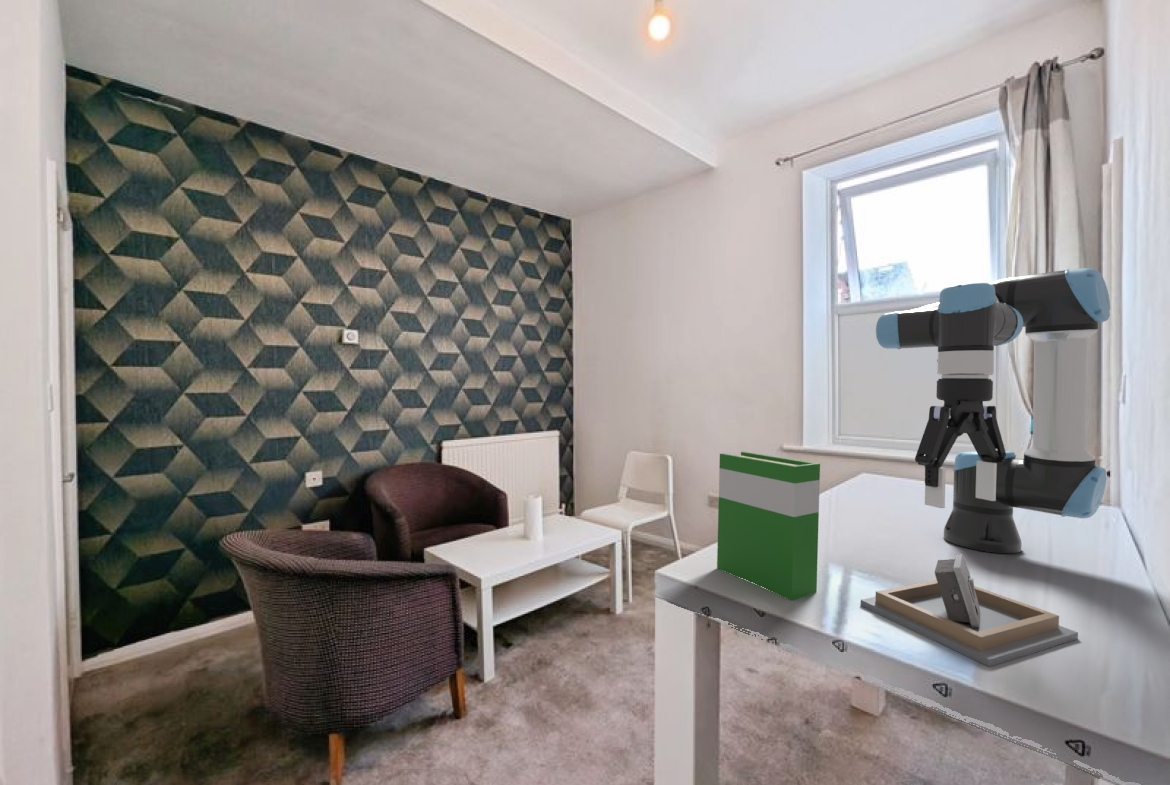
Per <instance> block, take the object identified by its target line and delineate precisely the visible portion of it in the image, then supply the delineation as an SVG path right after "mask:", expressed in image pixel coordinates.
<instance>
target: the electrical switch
mask: <svg viewBox="0 0 1170 785" xmlns="http://www.w3.org/2000/svg"><path fill="white" fill-rule="evenodd" d="M934 576H935V580H937V582H938V586H939V589H940V592H941V595H942V599H943V602H944V605H945V609H946V612H947V615H948V618H949V620H951V621H960V622H969V623H971V626H972V628H976V627H979V617H980V607H979V603H978V599H977V596H976V593H975V589H974V586H975V584H974V583H975V582H974V578H973V577H971V573H970V571H969V568H968V565H967V563H966V560H965V557H964V554H960V553H959V554H958V553H957V554H956V555H955V558H954V559H953V558H948V559H937V561H936V566H935V568H934Z"/></svg>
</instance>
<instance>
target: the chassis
mask: <svg viewBox="0 0 1170 785" xmlns="http://www.w3.org/2000/svg"><path fill="white" fill-rule="evenodd" d="M974 589H975V593H976V596H977V599H978V603H979V607H980V617H979V627H976V628H972V626H971V623H969V622H960V621H951V620H949V618H948V615H947V612H946V609H945V605H944V602H943V599H942V595H941V592H940V589H939V586H938V582H937V579H931V580H928V581H922V582H918V583H917V582H916V583H913V584H908V585H903V586H902V585H901V586H896V587H891V588H886V589H881V590H877V591H876V590H875V596H872V597H868V598H863V599H860V606H861V607H863V608H865V609H867V610H870V611H871V612H873V613H875V614H877V615H880V616H882V617H884V618H886V619H889V620H890V621H892V622H894V623H896V624H899V625H901V626H903V627H905V628H907V629H909V630H911V631H913V632H916V633H917V634H920V635H922V636H924V637H926V638H928V639H931V640H932V641H935V642H936V643H939V644H941V645H943V646H945V647H947V648H949V649H951V650H953V651H956V652H958V653H960V654H961V655H963V656H966V657H967V658H971V659H973V660H974V661H977V662H978V663H981V665H982V664H983V665H984V666H987V667H993V666H995V665H999V664H1002V663H1005V662H1008V661H1011V660H1014V659H1018V658H1021V657H1025V656H1028V655H1031V654H1034V653H1037V652H1040V651H1043V650H1046V649H1050V648H1053V647H1056V646H1055V645H1057V646H1059V645H1058V644H1060V643H1063V644H1065V643H1064V642H1066V643H1068V642H1067V641H1069V642H1072V641H1075V639H1076V640H1078V639H1079V632H1078V631H1075V630H1072V629H1070V628H1068V627H1064V626H1061V625H1060V615H1058V614H1055V613H1053V612H1050V611H1048V610H1047V611H1046V610H1043V609H1041V608H1038V607H1035V606H1032V605H1030V604H1027V603H1024V602H1022V601H1018V600H1015V599H1012V598H1010V597H1008V596H1007V597H1006V596H1004V595H1002V594H998V593H996V592H994V591H989V590H988V589H985V588H982V587H979V586H976V585H974ZM1060 645H1061V644H1060ZM1052 646H1053V647H1052ZM1049 647H1050V648H1049Z"/></svg>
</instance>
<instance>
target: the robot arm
mask: <svg viewBox="0 0 1170 785" xmlns="http://www.w3.org/2000/svg"><path fill="white" fill-rule="evenodd" d="M1108 290H1109V289H1108V287H1107V284H1106V281H1105V278H1104V277H1103V275H1102V274H1101V273H1100V271H1099V270H1097V269H1095V268H1091V267H1089V268H1075V269H1074V268H1073V269H1070V268H1069V269H1063V270H1058V271H1050V272H1044V273H1043V272H1042V273H1037V274H1035V273H1034V274H1029V275H1022V276H1013V277H1008V278H1007V277H1006V278H1002V279H998V280H995V281H991V282H967V283H960V284H959V283H958V284H953V285H949V286H946V287H944V288H942V290H940V293H939V300H938V302H935V303H932V304H927V305H923V306H921V307H918V308H917V307H916V308H913V309H910V310H903V311H898V310H896V311H893V312H886V313H884V314H882V315H880V317H878V319H877V321H876V324H875V336H876V337H875V338H876V340H877V343H878V345H880V346H881V347H882V348H883V349H889V350H890V349H891V350H892V349H893V350H895V349H897V350H901V349H916V348H917V349H918V348H934V347H936V348H937V359H936V363H937V375H938V376H941V378H938V380H936V394H935V395H936V398H937V399H938V400H940V401H943V402H944V403H943V406H941V405H931V406H930V407H929V412H928V413H929V414H928V420H927V423H926V425H925V428H924V431H923V435H922V437H921V440H920V442H919V445H918V448H917V451H916V454H915V456H914V460H915V463H917V464H918V465H920V466H924V505H925V506H930V507H932V508H933V507H934V508H938V509H945V507H946V504H945V503H946V477H947V476H946V469H947V468H946V467H943V464H944V462H945V461H946V460H947V457H948V455H949V453H951V452H950V451H951V450H952V448H953V446H954V445H955V443H956V441H957V440H958V437H960V436H962V435H964V434H967V436H968V438H969V439H970V442H971V443H972V446H973V448H974V449H975V450H971V451H963V452H959V453H957V455H956V456H955V457H954V467H953V469H952V470H953V491H952V492H953V495H952V496H953V498H952V510H951V513H949V514H950V515H949V517H948V519H947V521H946V523H945V525H944V527H943V539H944V540H945V541H947V542H949V543H952V544H954V545H955V546H959V547H963V548H967V549H972V550H975V551H976V550H977V551H980V552H987V553H995V554H1018V553H1020V552H1021V551H1022V546H1023V545H1022V543H1023V542H1022V539H1021V536H1020V533H1019V530H1018V528H1017V525H1016V523H1015V520H1014V508H1018V509H1024V510H1029V511H1034V512H1041V513H1044V514H1045V513H1047V514H1051V515H1057V516H1061V517H1062V518H1064V517H1071V518H1077V519H1088V518H1091V517H1093V516H1094V515H1095V514H1096V513H1097V511H1098V510H1099V508H1100V506H1101V502H1102V501H1103V497H1104V494H1105V490H1106V484H1107V480H1108V479H1107V469H1106V468H1104V467H1102V466H1100V465H1097V464H1096V456H1095V455H1093V454H1092V453H1091V452H1090V451H1088V450H1087V448H1086V446H1087V445H1086V444H1087V443H1086V442H1087V441H1086V440H1087V439H1086V438H1087V433H1086V432H1087V396H1088V395H1087V394H1088V392H1087V388H1088V387H1087V386H1088V344H1089V343H1088V340H1089V339H1090V338H1091V337H1093V336H1094V334H1096V333H1097V332H1098V330H1099V324H1101V323H1104V322H1107V321H1108V320H1109V319H1110V316H1111V314H1110V313H1111V312H1110V311H1111V301H1110V294H1109V291H1108ZM1023 328H1024V329H1025V331H1024V332H1025V334H1024V335H1025V336H1027V337H1028V338H1029V339H1031V341H1032V342H1033V388H1032V389H1033V395H1032V396H1033V401H1032V402H1033V403H1032V406H1033V410H1032V414H1033V415H1032V445H1031V447H1029V448H1028V449H1027V450H1025V451H1024V452H1023V458H1017V455H1016V454H1015V451H1011V450H1010V451H1009V450H1006V448H1005V446H1004V441H1003V438H1002V437H1003V436H1002V434H1001V430H1000V427H999V424H998V420H997V408H996V406H995V405H989V404H988V405H987V404H986V405H984V402H991V401H992V399H993V395H994V393H993V391H994V380H992V379H991V378H990V376H993V375H994V363H995V362H994V360H995V359H994V358H995V357H994V356H995V355H994V354H995V353H994V350H995V349H994V347H998V346H1001V345H1003V346H1004V345H1007V344H1009V343H1012V341H1014V340H1015V339H1017V337H1018V336H1019V335H1020V334H1021V332H1022V330H1023Z"/></svg>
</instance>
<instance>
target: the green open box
mask: <svg viewBox="0 0 1170 785" xmlns="http://www.w3.org/2000/svg"><path fill="white" fill-rule="evenodd" d="M718 469H719V472H718V475H719V476H718V477H719V478H718V479H719V480H718V512H717V513H718V515H717V521H718V522H717V550H716V551H717V552H716V553H717V556H716V559H717V560H716V562H717V563H716V568H718V569H717V570H720V569H721V570H720V571H722V570H723V572H724V571H726V572H725V573H727V572H728V573H727V574H729V573H731V574H733V575H735V576H734V577H736V576H738V577H740V578H743V579H746V580H748V581H750V582H753V583H755V584H757V585H759V586H762V587H764V588H766V589H768V590H770V591H773V592H775V593H777V594H779V595H778V596H780V595H781V596H780V597H782V596H783V597H782V598H784V597H786V598H785V599H787V598H788V599H787V600H789V599H790V600H789V601H791V600H792V601H795V600H797V599H801V598H803V596H804V597H806V595H807V596H809V594H810V595H812V594H814V592H815V593H817V591H818V590H817V588H818V587H817V586H818V585H817V584H818V582H817V581H818V551H819V550H818V549H819V517H820V516H819V515H820V483H821V482H820V478H821V463H819V462H811V461H805V460H799V459H794V458H793V459H792V458H786V457H780V456H774V455H768V454H761V453H755V452H749V451H740V455H734V454H733V455H732V454H728V453H719V468H718ZM731 574H730V575H731ZM733 575H732V576H733ZM738 577H737V578H738ZM740 578H739V579H740ZM743 579H742V580H743ZM750 582H749V583H750ZM757 585H756V586H757ZM759 586H758V587H759ZM764 588H763V589H764ZM766 589H765V590H766ZM768 590H767V591H768ZM770 591H769V592H770ZM773 592H772V593H773ZM775 593H774V594H775ZM811 593H812V594H811ZM777 594H776V595H777ZM800 597H801V598H800ZM794 599H795V600H794Z"/></svg>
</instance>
